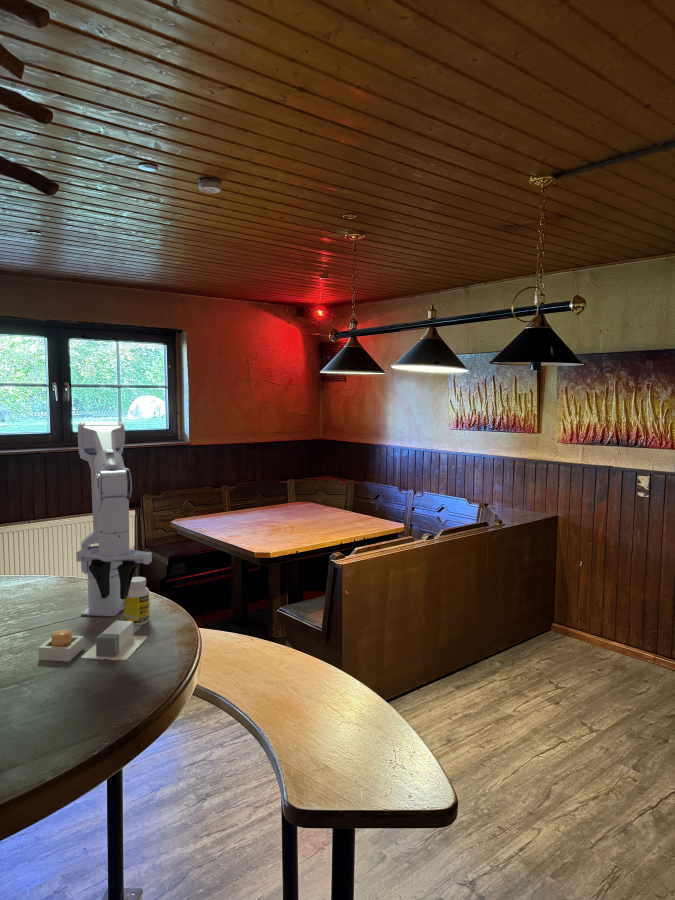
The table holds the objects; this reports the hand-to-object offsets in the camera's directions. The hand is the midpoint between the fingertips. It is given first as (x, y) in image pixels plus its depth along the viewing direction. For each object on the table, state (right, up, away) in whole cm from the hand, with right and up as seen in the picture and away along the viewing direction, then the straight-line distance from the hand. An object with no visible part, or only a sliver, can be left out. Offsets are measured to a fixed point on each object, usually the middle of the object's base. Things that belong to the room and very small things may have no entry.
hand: (114, 597), depth 120 cm
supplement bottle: (0, -9, +15) cm, 17 cm away
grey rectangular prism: (0, -10, +1) cm, 10 cm away
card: (-2, -10, +10) cm, 14 cm away
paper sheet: (0, -10, +1) cm, 10 cm away
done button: (-9, -9, -3) cm, 13 cm away
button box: (-9, -11, -2) cm, 14 cm away
